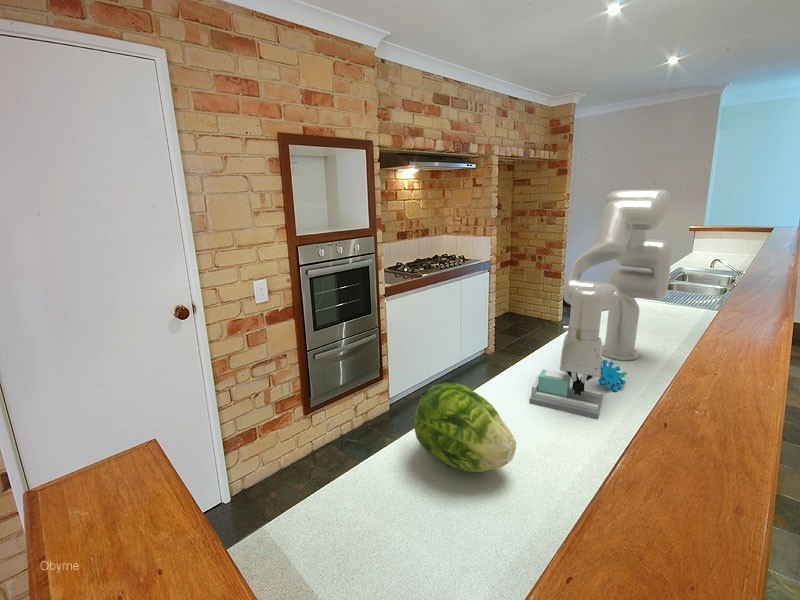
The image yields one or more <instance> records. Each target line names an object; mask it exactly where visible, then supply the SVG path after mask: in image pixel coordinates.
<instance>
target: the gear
mask: <svg viewBox="0 0 800 600" xmlns="http://www.w3.org/2000/svg"><path fill="white" fill-rule="evenodd" d="M607 363H608V364H607ZM614 365H615V362H614V361H612V360H611V361H609V362H608V360H607V359H602V363H601V378H597V380H598V383H599V385H601V386H602V385H604V384H606V383H607V385H605V386H604V388H605V390H607V391H609V390H612V391H613V392H618V390H622V389H623V388H624V386H623V385H626V384H625V383H626V380H625V379H623V378H624V377H625V376H626V375H628V373H627V371H623V372H619V371H620V370H621V367H620V366H619V365H617V366H615V367H613V366H614ZM612 386H613V387H612ZM611 387H612V388H611Z"/></svg>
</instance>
